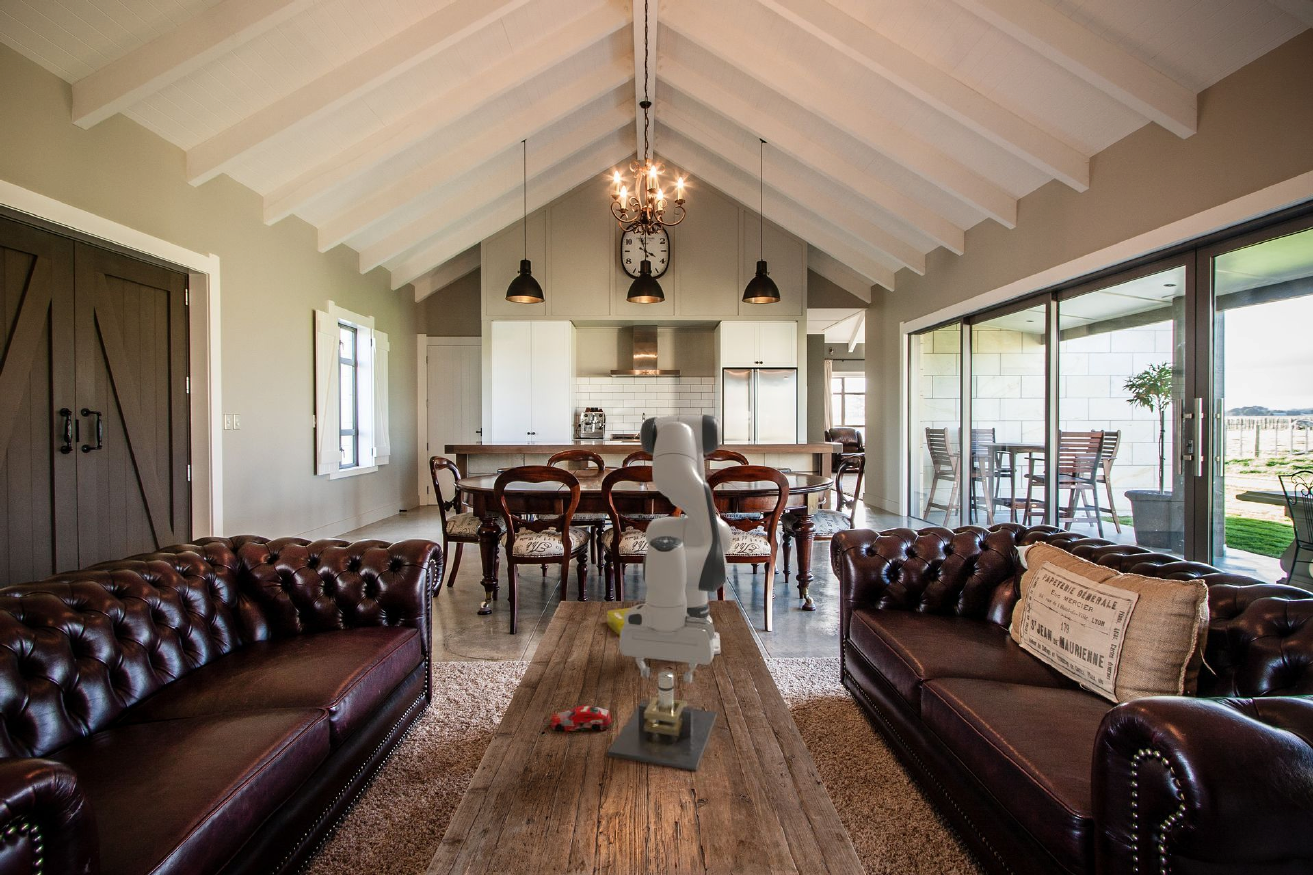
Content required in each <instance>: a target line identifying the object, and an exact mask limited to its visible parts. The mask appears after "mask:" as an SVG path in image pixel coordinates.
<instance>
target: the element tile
mask: <svg viewBox="0 0 1313 875" xmlns="http://www.w3.org/2000/svg"><path fill="white" fill-rule="evenodd" d="M631 608H632V607H626V608H619V609H618V608H617V609H611V610H608V611H606V624H607V625H608V627H609V628H611V629H612V630H613V632H615V633H616V634H617V635H618V636H620V633H621V629H622V627H623V626H624V625H625V623H624V615H625V614H626V612H627V611H628V610H629V609H631Z"/></svg>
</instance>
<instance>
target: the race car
mask: <svg viewBox="0 0 1313 875" xmlns="http://www.w3.org/2000/svg"><path fill="white" fill-rule="evenodd" d="M611 721H612V717H611V713H610V711H609V710H608V709H607V708H606V709H605V708H601V707H599V706H593V705H592V706H591V705H580V706H575V707H573V709H571V710H564V711H560V712H556V713H555V714H553V715H552V716H551V718H550V722H549V724H550V727H551V729H552V730H554V731H556V732H557V733H558V732H561V733H562V732H564V731H565V732H569V731H570V732H579V731H580V732H581V731H583V732H584V731H589V732H590V731H592V732H600V730H601V731H603V730H606V729H608V728H610V727H611V723H612V722H611Z"/></svg>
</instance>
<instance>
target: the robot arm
mask: <svg viewBox="0 0 1313 875" xmlns="http://www.w3.org/2000/svg"><path fill="white" fill-rule="evenodd" d="M639 431H640V432H639V442H640V445H641V447H642V450H643V451H644V452H645V453H646V454H647V455H649V456H652V465H651V466H652V469H651V471H652V472H651V474H652V475H651V476H652V482H653V485H654V487H655V488H656V489H657V491H659V493H661V495H663V496H664V497H666V498H668V501H670V503H671V504H672V505H673V506H675V508H678V509H680V510H681V511H682V512H684V513H685V515H686V516H687V517H683V516H682V517H681V516H680V517H679V516H665V517H664V516H663V517H658V518H653V519H652V520H651V521H650V522H649V523H648V525H647V527H646V531H645V540H646V543H647V550H646V554H645V555H644V556H643V558H642V559H643V560H642V580H643V581H644V583H645V585H646V596H645V599H644V600H645V601H644V603H641V604H636V605H633V606H632V607H630V608H631V609H629V610H628V611H627V612H626V614H625V615H624V623H625V625H624V626H623V627H622V629H621V633H620V635H619V644H618V645H619V646H618V648H619V652H620V653H621V655H622V656H626V657H635V662H636V665H637V666H638V668H639V669H640V677H641V678H645V679H648V678H649V677H650V673H651V672H650V669H651V668H650V666H647V665H646V663H645V661H644V660H645V659H649V660H650V659H651V660H652V659H653V660H660V661H662V660H663V661H670V662H676V663H677V662H678V663H687V664H688V668H690V670H689V671H688V670H686V671H685V672H684V674H683V682H684V683H687V684H691V683H692V681H693V673H694V672H695V670H696V668H697V665H703V666H704V665H706V666H708V665H710V664H711V662H712V661H714V660H713V659H714V656H715V655H720V654H721V651H722V650H721V640H720V639H721V637H720V633H719V632H717V631H715V630H716V629H715V626H714V624H713V618H712V617H711V616H710V605H709V602H710V601H709V598H708V592H709V593H714V592H716V591H718V590H719V589H720V588H721V587H722V586H724V585H725V584H726V583H727V577H728V572H729V571H728V561H727V558H726V554H727V553H728V552H729V551H730V549H731V547H732V544H733V539H734V537H733V532H732V529H731V527H730V525H729V524H728V523H727V522H726V521H725V520H723V519H722V518H721V517H719V515H718V514H716V513H717V512H716V507H715V502H714V498H713V493H712V489H711V487H710V484H709V483H708V482H707V481H706V470H705V468H706V467H705V459H704V455H705V456H708V455H709V454H713V453H715V451H718V449H719V447H720V444H721V441H722V439H723V438H722V437H723V436H722V434H723V433H722V427H721V425H720V423H719V419H717V418H716V417H715V416H713V415H708V414H703V415H697V414H679V415H669V416H660V417H658V416H655V417H654V416H653V417H650V418H647V419H645V421H643V422H642V424H641V428H640V430H639Z"/></svg>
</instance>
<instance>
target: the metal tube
mask: <svg viewBox="0 0 1313 875" xmlns="http://www.w3.org/2000/svg"><path fill="white" fill-rule="evenodd" d="M657 677H658V680H657V683H658V684H657V689H658V691H657V692H658V696H657V697H658V712H666V713H673V699H674V690H675V684H674V680H675V679H674V678H675V677H674V673H673V672H672V671H660V672H659V673H658V676H657ZM658 724H660V725H667V726H673V722H668V721H661V720H658Z"/></svg>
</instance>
